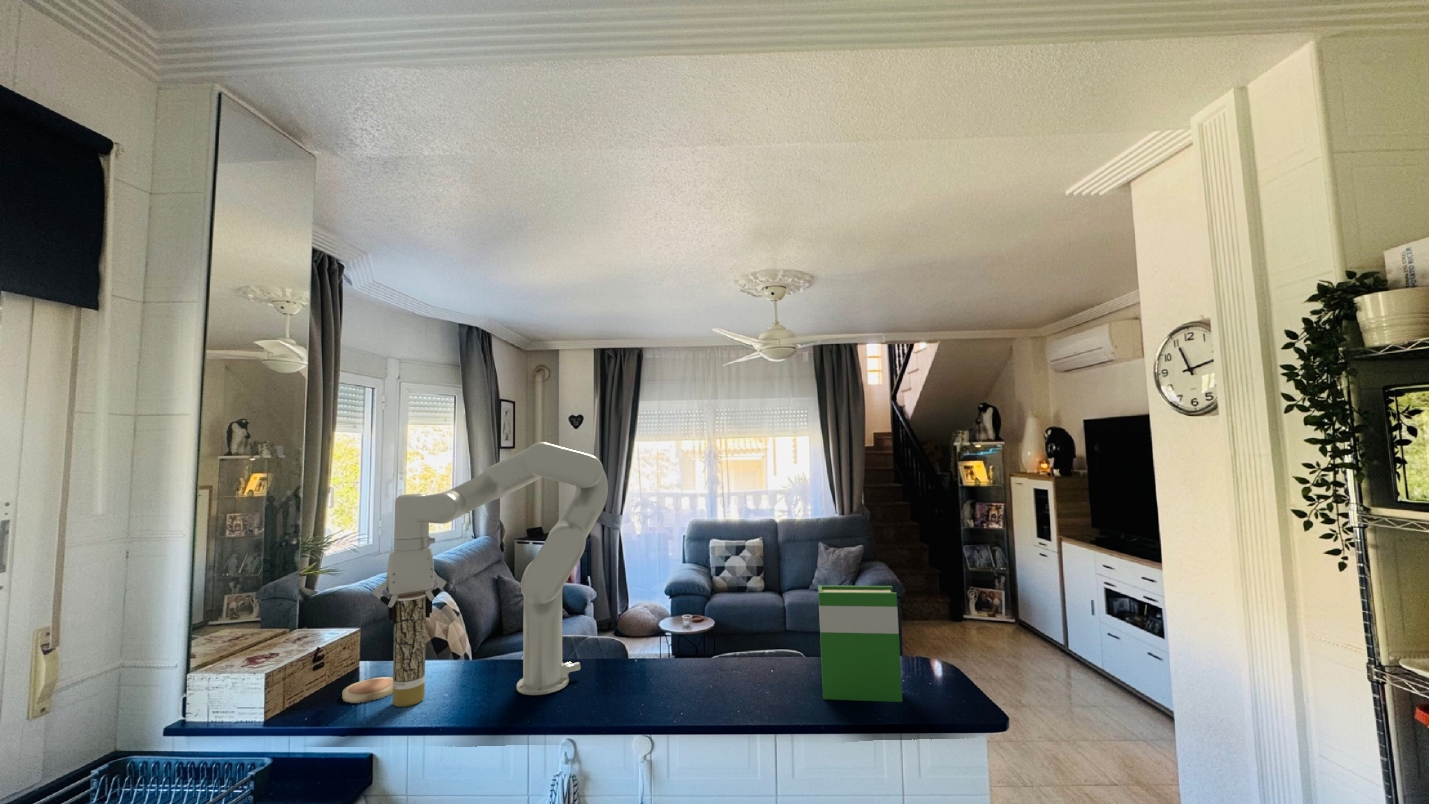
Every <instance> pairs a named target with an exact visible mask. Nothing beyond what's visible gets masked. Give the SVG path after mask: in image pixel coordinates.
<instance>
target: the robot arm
mask: <svg viewBox="0 0 1429 804" xmlns="http://www.w3.org/2000/svg"><path fill="white" fill-rule="evenodd" d="M542 478H544V479H546V480H547V479H548V480H551V481H554V482H558V483H562V484H566V485H567V484H568V485H571V486H575V491H574V494H573V497H572V498H571V500H570V502H569V503H568V505H567V506H566V509H565V510H564V511H563V513H562V515H561V517H560V518H559V519H558V521H557V522H556V524H555V525H554V526H553V527H552V528H551V530H550V531H549V532H548V535H547V538H546V540H545V541H544V543H543V544H542V545H541V547H540V549H539V550H538V552H537V553H536V555H535V557H534V559H533V560H532V561H531V562H529V564H528V565H527V566H526V568H525V569H524V572H523V575H522V576H521V577H522V578H521V581H520V590H521V593H522V596H523V611H522V612H523V615H522V616H523V618H522V619H523V620H522V621H523V622H522V623H523V624H522V625H523V627H522V629H523V630H522V631H523V632H522V635H523V636H522V637H523V641H522V642H523V643H522V645H523V646H522V648H523V649H522V650H523V651H522V652H523V654H522V656H523V658H522V659H523V660H522V663H523V665H522V667H523V668H522V671H523V673H522V675H523V677H522V678H520V679H519V680H518V682H517V683H516V691H517V692H518V693H520V694H522V695H527V696H543V695H548V694H552V693H555V692H558V691H560V690H562V689H564V688H565V687H566V686H568V684H569V681H570V679H569V674H570V673H571V672H576V671H580V670H581V663H580V662H579V661H578V662H574V663H572V662H571V661H569V662H568V661H567V662H563V588H564V586H565V584H566V583H567V581H568V579H569V578H570V576H571V574H572V572H573V571H574V570H575V568H576V566H577V565H578V563H579V561H580V559H581V557H582V556H583V554H584V553H585V549H586V543H587V541H586V540H587V538H588V537H589V535H590V532H591V531H592V529H593V528H594V526H595V524H596V522H597V520H598V518H599V517H600V516H601V514H602V512H603V510H604V508H605V505H606V503H607V499H608V494H609V485H608V478H607V474H606V472H605V470H604V467H603V464H602V461H600V459H599V458H598V457H596V456H595V455H593V454H589V453H585V452H581V451H577V450H573V449H569V448H566V447H562V446H559V445H555V444H552V443H549V442H547V441H539V442H535V443H533V444H532V445H530V446H529V447H527V448H526V449H523V450H521V451H520V452H516V454H513V455H511V456H509V457H507V458H505V459H502V460H500V461H499V462H496V463H495V464H493V465H491V466H489V467H488V468H486V469H485V470H484V471H482V473H480V474H479V475H477V476H475V477H473V478H471V479H469V480H467V481H466V482H465V481H464V482H463V483H461V484H459V485H458V486H457V485H456V486H455V487H453V488H451V489H449V490H447V491H442V492H440V493H435V494H425V493H409V494H407V493H406V494H400V495H398V496H397V497H396V499H395V500H394V535H393V536H394V537H393V538H394V539H393V551H391V552H389V557H388V560H387V561H388V562H387V569H386V578H385V580H384V581H383V582H381V584H380V585H379V586H377V587H376V588H375V589H374V590H373V591H372V594H373V596H375V597H376V598H377V599H378V600H380V601H381V602H382V604H385V605H386V606H387V618H386V619H387V621H388V622H390V624H391V625H394V624H395V623H396V607H395V602H396V600H397V598H398V596H399V595H402V594H409V593H415V592H425V593H426V619H429V618H431V614H432V613H433V601H434V600H435V598H436V597H437V596H438V594H439V593H440V592H441V590H442V589H443V588H444V587H445V586H446V584H447V580H445V579H444V578H442V577H440V576H439V575H437V574H436V573H435V564H434V558H433V557H434V556H433V551H432V548H430V546H431V545H432V544H435V543H436V538H435V537H430V536H429V535H430V534H429V533H430V524H440V525H441V524H442V525H443V524H447V523H450V522H452V521H454V520H456V519H458V518H461V517H462V516H465V514H467V513H470V512H471V511H474V510H475V509H478V508H480V507H481V506H482V507H483V506H484V505H485V504H488V503H490V502H492V501H495V500H498V499H502V498H504V497H506V496H508V495H510V494H512V493H514V492H515V491H518V490H520V489H521V488H523V487H527V486H528V485H530V484H532V483H533V482H536V481H538V480H539V479H542ZM435 582H437V584H436V586H435ZM434 586H435V587H434ZM384 590H386V592H388V593H389V596H388V597H387V596H385V595H384V594H383V592H384Z"/></svg>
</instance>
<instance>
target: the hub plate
mask: <svg viewBox="0 0 1429 804" xmlns="http://www.w3.org/2000/svg"><path fill="white" fill-rule="evenodd" d="M341 694H342V697H341V699H343V700H342V701H343V702H345V703H348V702H349V703H350V704H360V702H362V703H367V702H368V703H369V702H372V701H371V700H373V701H375V700H374V699H377V700H380V699H383V698H386V697H388V696H391V695H393V676H392V677H390V676H383V677H373V678H368V679H363V680H361V681H358V682H355V683H351V684H350V685H348V686H346V687H344V689H343V690H342V693H341ZM385 696H386V697H385Z"/></svg>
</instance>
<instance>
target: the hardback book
mask: <svg viewBox="0 0 1429 804" xmlns="http://www.w3.org/2000/svg"><path fill="white" fill-rule="evenodd" d="M817 590H818V613H819V615H818V616H819V617H818V618H819V634H820V640H819V641H820V661H821V663H820V664H821V681H822V684H821V685H822V700H833V701H834V700H835V701H836V700H837V701H860V702H861V701H865V702H866V701H869V702H891V703H893V702H894V703H895V702H896V703H903V688H902V687H903V685H902V669H901V668H902V667H901V652H900V651H901V649H900V635H899V633H900V632H899V631H900V630H899V629H900V628H899V617H898V613H899V611H898V596H897V592H893V591H894V590H893V585H817Z"/></svg>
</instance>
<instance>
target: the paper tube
mask: <svg viewBox="0 0 1429 804" xmlns="http://www.w3.org/2000/svg"><path fill="white" fill-rule="evenodd" d="M395 607H396V623H395V624H393V657H392V658H393V660H392V662H393V663H392V665H393V666H392V667H393V668H392V678H393V693H392V704H393V706H395V707H398V708H405V707H410V706H413V705H417V704H418V703H420V702H422V701H423V699H425V690H426V689H425V687H426V686H425V681H426V636H427V635H426V634H427V633H426V631H427V630H426V629H427V628H426V627H427V623H426V622H427V621H426V620H427V618H426V593H425V592H423V591H421V592H415V593H409V594H402V595H399V596H398V598H397V600H396V602H395Z"/></svg>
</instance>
